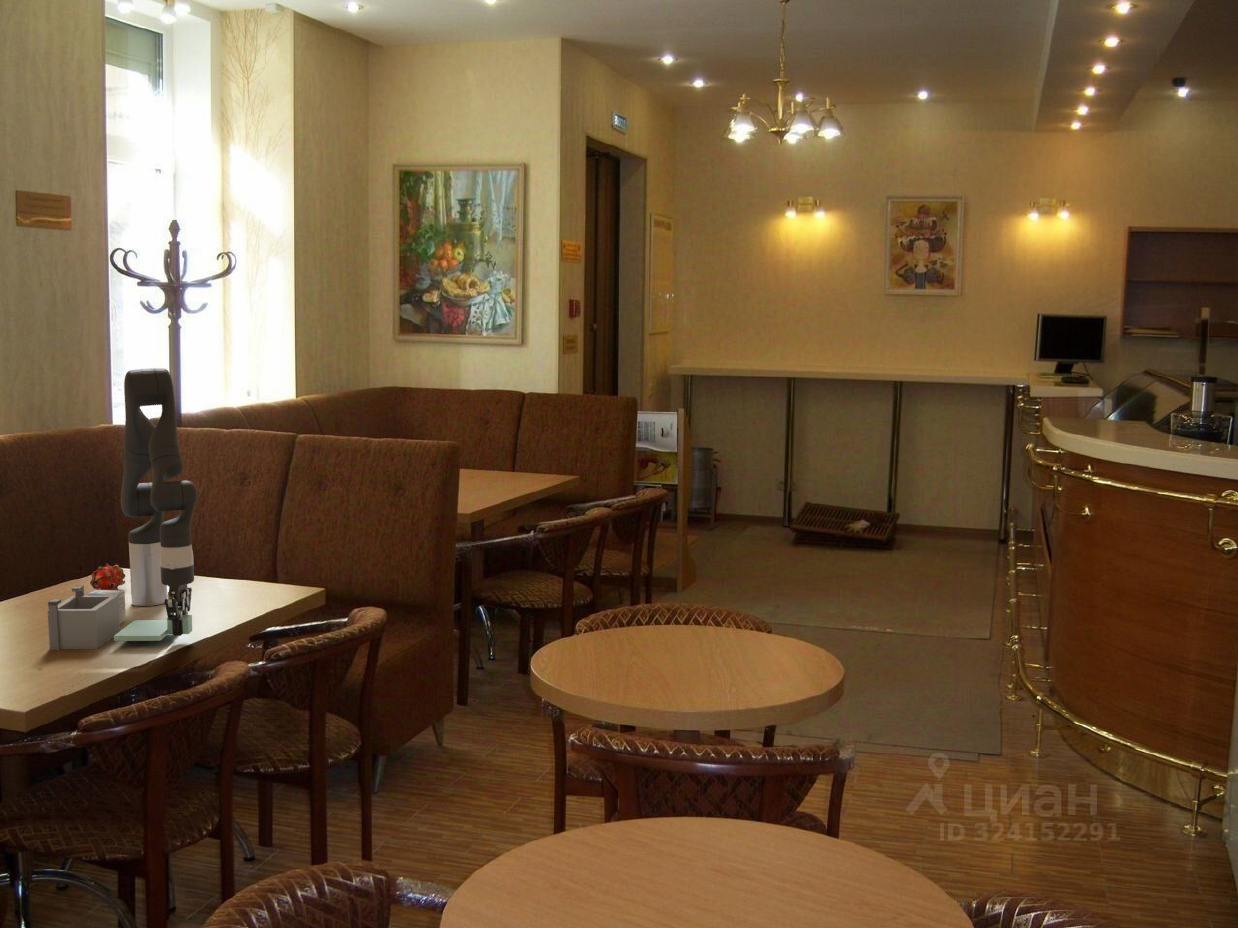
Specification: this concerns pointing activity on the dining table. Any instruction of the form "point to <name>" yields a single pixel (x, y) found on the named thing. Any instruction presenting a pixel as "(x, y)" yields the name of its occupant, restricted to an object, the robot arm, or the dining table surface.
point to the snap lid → (151, 629)
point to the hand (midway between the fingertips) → (180, 633)
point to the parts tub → (83, 620)
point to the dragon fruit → (107, 578)
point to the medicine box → (121, 600)
